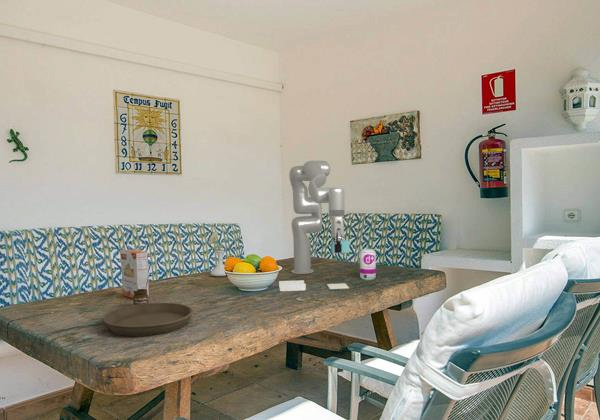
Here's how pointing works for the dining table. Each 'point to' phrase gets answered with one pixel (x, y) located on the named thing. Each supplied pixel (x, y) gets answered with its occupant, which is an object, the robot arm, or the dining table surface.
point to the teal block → (344, 245)
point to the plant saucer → (147, 318)
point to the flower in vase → (220, 267)
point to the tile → (337, 286)
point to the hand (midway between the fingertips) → (337, 251)
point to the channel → (292, 285)
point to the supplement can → (367, 264)
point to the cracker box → (134, 271)
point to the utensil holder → (140, 295)
